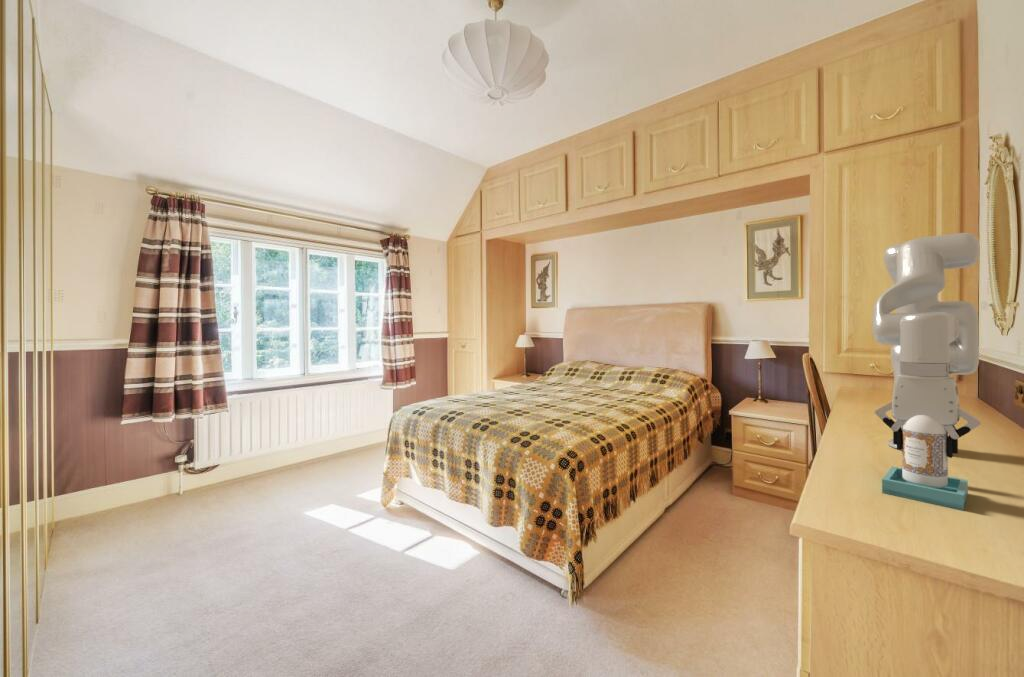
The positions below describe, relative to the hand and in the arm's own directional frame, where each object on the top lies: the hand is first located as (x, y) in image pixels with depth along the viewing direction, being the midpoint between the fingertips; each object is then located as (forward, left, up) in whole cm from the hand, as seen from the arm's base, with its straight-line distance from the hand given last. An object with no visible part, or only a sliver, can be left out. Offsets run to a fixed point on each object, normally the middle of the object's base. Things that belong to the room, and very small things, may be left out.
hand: (924, 451), depth 89 cm
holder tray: (0, 0, -9) cm, 9 cm away
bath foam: (0, 0, -7) cm, 7 cm away
